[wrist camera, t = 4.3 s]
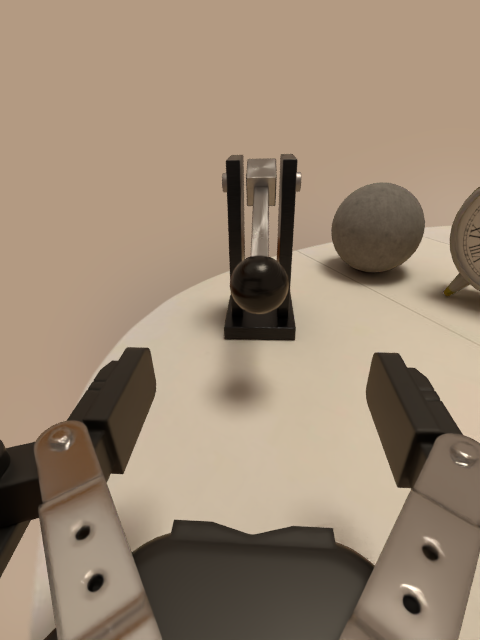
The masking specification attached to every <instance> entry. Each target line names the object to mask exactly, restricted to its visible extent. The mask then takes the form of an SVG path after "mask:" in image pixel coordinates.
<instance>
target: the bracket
mask: <svg viewBox="0 0 480 640" xmlns="http://www.w3.org/2000/svg"><path fill="white" fill-rule="evenodd" d="M243 173H244V167H243V155H231V156H230V157H229V158H228V159H227V160H226V173H223V175H222V188H223V192H227V204H228V231H229V256H230V257H229V258H230V280H231V276H232V273H233V271H234V269H235V268H236V266H237V265H238V264H239V263H240V262H241V261H243V260H244V259H245V245H244V244H245V240H244V174H243ZM279 187H280V189H279V216H278V243H277V244H278V245H277V262H279V263H280V264H281V265H282V267H283V268H284V269H285V271H286V274H287V276H288V282H289V287H288V293H287V295H286V298H285V300H284V301H283V303H282V304H281V305H280V306H279V307H278V308H276V309H275V310H273V311H271V312H269V313H265V314H253V313H250V312H247V311H245V310H243V309H242V308H241V307H240V306H239V305H237V303H236V302H235V300H234V299H233V297H232V294H231V295H230V300H229V305H228V310H227V315H226V320H225V325H224V336H225V339H275V340H295V331H296V327H295V321H294V314H293V307H292V300H291V294H290V281H291V264H292V246H293V228H294V212H295V194H296V192H298V191H300V188H301V173H300V172H297V159H296V157H295V156H294V155H293V154H281V158H280V186H279Z"/></svg>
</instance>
